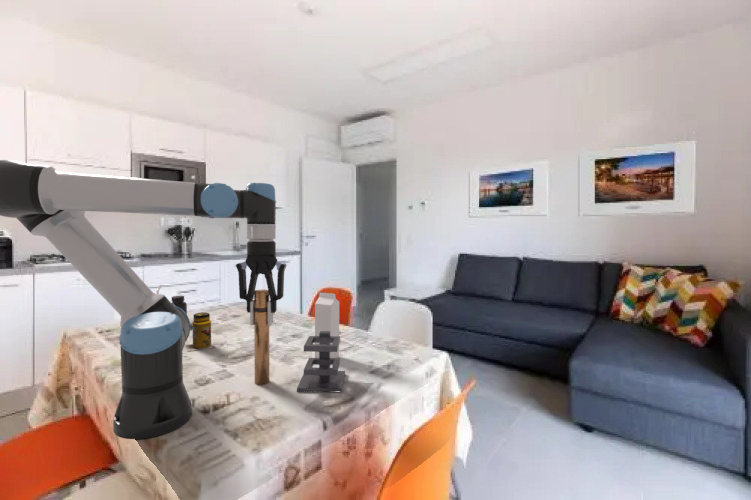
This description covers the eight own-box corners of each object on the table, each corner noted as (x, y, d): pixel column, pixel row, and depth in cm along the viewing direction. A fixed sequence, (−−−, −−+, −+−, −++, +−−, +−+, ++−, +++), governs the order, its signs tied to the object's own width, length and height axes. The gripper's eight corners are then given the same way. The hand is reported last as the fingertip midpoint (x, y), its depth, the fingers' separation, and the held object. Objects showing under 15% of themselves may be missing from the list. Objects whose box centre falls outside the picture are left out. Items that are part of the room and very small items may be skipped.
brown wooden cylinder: (267, 385, 102) (267, 292, 101) (252, 384, 102) (251, 292, 101) (271, 378, 107) (271, 289, 105) (257, 378, 107) (256, 289, 105)
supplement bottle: (170, 322, 164) (169, 295, 164) (187, 320, 167) (186, 294, 166) (168, 326, 158) (168, 298, 157) (186, 324, 161) (186, 297, 160)
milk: (323, 354, 127) (323, 290, 126) (339, 356, 125) (339, 292, 124) (314, 360, 122) (314, 293, 120) (330, 362, 120) (331, 295, 118)
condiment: (213, 347, 132) (213, 314, 132) (187, 351, 128) (186, 317, 127) (210, 342, 138) (209, 310, 138) (184, 345, 134) (184, 313, 133)
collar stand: (342, 392, 99) (342, 344, 98) (296, 391, 99) (297, 344, 98) (345, 374, 111) (345, 331, 110) (305, 373, 111) (305, 331, 110)
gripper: (295, 240, 106) (295, 320, 107) (235, 239, 105) (236, 320, 107) (289, 241, 98) (289, 328, 100) (224, 240, 98) (225, 327, 99)
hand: (261, 323), depth 103 cm, fingers closed on brown wooden cylinder, 4 cm apart
